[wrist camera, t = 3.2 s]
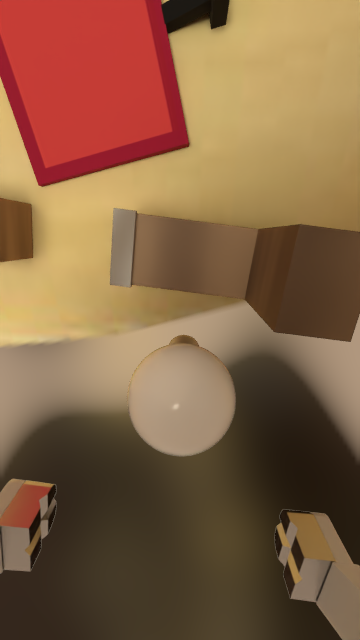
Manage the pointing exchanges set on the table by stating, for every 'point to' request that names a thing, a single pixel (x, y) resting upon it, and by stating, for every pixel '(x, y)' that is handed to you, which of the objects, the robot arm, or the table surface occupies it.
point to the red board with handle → (95, 80)
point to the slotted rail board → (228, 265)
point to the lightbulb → (181, 398)
